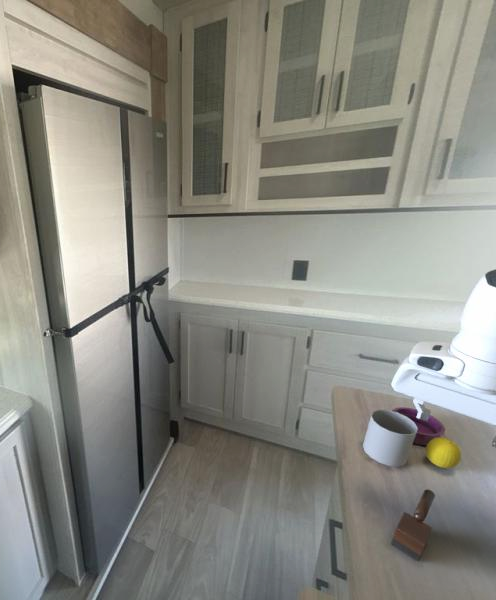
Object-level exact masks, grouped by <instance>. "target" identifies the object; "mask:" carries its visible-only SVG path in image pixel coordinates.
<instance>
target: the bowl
mask: <svg viewBox="0 0 496 600" xmlns="http://www.w3.org/2000/svg"><path fill="white" fill-rule="evenodd" d="M391 411H394V412H398V413H400V414H402V415H404V416H406V417H408V418H409V419H411V420H412V421H413V422H415V424H416V426H417V427H418V430H417V433H416V436H415V438H414V441H413V444H415V445H418V446H425V447H426V446H427V444H428V443H429V442H430V441H431V440H432V439H434V438H444V437H443V436H444V434H445V431H446V428H445V426H444V424H443V423H442V422H441V421H440V420H439V419H437V418H436V417H435V416H433V415H431V414H430V415H429V417H428V420H427V421H424V420H421V419H418V418H416V417H417V414H418V411H417V409H416V408H411V407H405V406H404V407H403V406H402V407H396V408H393V409H392V410H391Z"/></svg>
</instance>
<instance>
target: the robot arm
mask: <svg viewBox="0 0 496 600" xmlns="http://www.w3.org/2000/svg"><path fill="white" fill-rule="evenodd" d="M390 386H391V388H392V389H393V391H395V392H396V393H400V394H402V395H405V396H408V397H411V398H413V400H412V403H413V405H414V407H415V409H416V410H417V411H418V414H417V417H416V418H418V419H421V420H424V421H427V420H428V417H429V415H431V412H432V410H431V409H429V408H427V407H425V402H426V403H428V404H432V405H434V406H438V407H440V408H443V409H446V410H449V411H452V412H454V413H458V414H461V415H464V416H466V417H469V418H472V419H475V420H478V421H481V422H484V423H486V424H489V425H493V426H496V268H495V269H492V270H489V271H487V272H485V273H484V274H483V275H482V276H481V278H480V279H478V281H477V282H476V284H475V286H474V287H473V289H472V290H471V292H470V294H469V295H468V298H467V300H466V303H465V305H464V307H463V310H462V312H461V315H460V318H459V331H458V333H457V334H456V335H455V336H454V337H453V339H452V340H451V341H426V340H425V341H424V340H423V341H419V342H417V343H416V344H415V345H414V346H413V348H412V349H411V351H410V353H409V355H408V356H406V357H405V358H404V360H403V361H402V363H401V364H400V366H399V367H398V369H397V371H396V372H395V374H394V376H393V378H392V380H391V383H390ZM491 447H493V448H496V434H495V435H494V437H493V440H492V443H491Z"/></svg>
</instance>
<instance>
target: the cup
mask: <svg viewBox="0 0 496 600" xmlns="http://www.w3.org/2000/svg"><path fill="white" fill-rule="evenodd" d="M417 430H418V427H417V426H416V424H415V422H413V421H412V420H411V419H409V418H408V417H406V416H404V415H402V414H400V413H398V412H394V411H392V410H390V409H377V410H374V411H372V413H371V414H370V418H369V421H368V424H367V429H366V433H365V437H364V440H363V443H362V448H363V450H364V452H365V453H366V454H367V456H369V458H371V459H373V460H374V461H376V462H377V463H379V464H381V465H384V466H388V467H391V468H392V467H393V468H401V467H403V466H405V465H407V461H408V459H409V455H410V453H411V449H412V446H413V445H414V443H413V441H414V438H415V436H416V433H417Z"/></svg>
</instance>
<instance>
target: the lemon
mask: <svg viewBox="0 0 496 600" xmlns="http://www.w3.org/2000/svg"><path fill="white" fill-rule="evenodd" d="M425 455H426V457H427V459H428V461H430V463H432V464H433V465H435V466H436V467H440V468H443V469H452V468H454V467H456V466H457V465H458V464H459V463H460V461H461V459H462V452H461V448H460V447H459V446H458V444H456V443H455V442H454V441H452V440H451V439H449V438H445V437H442V438H434V439H432V440H431V441H430V442H429V443H428V444H427V446H425Z"/></svg>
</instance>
